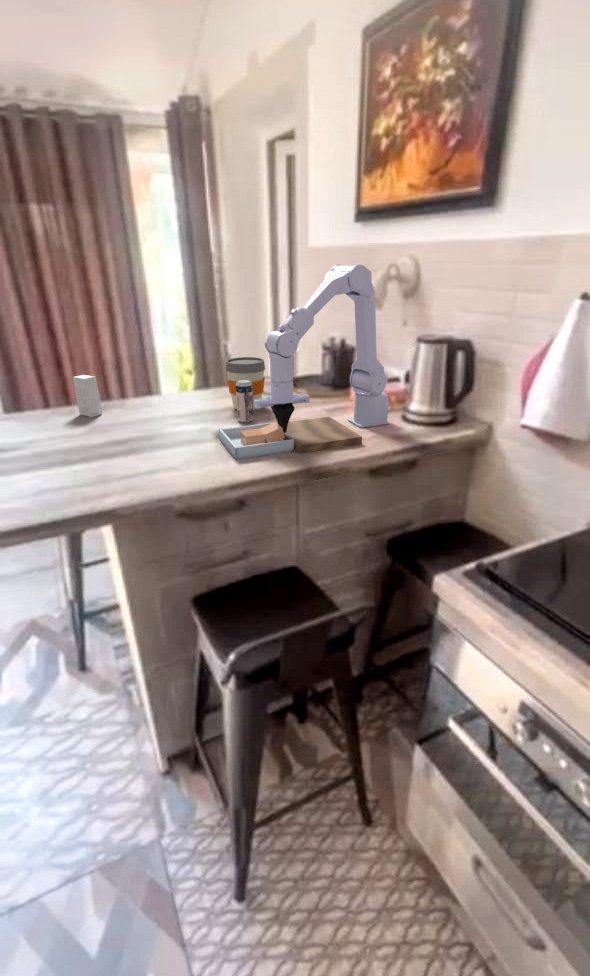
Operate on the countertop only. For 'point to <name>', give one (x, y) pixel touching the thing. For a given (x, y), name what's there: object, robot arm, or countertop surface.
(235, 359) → the reusable coffee cup
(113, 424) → the countertop surface
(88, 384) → the skincare box
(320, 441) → the board
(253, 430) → the tile
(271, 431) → the tile
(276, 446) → the tray
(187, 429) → the countertop surface
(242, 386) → the beer can
